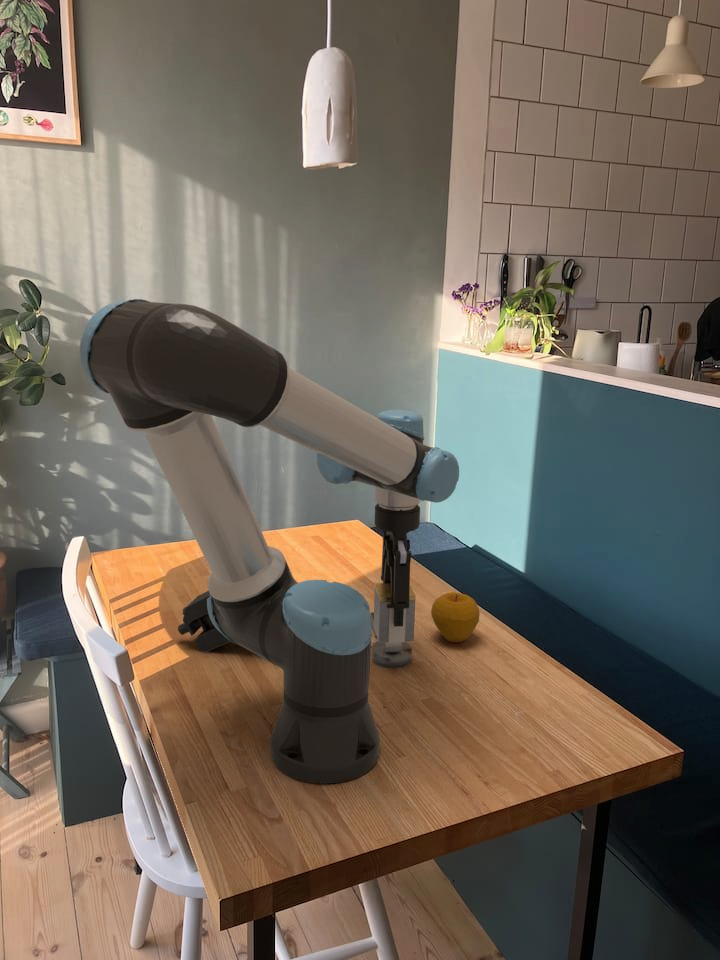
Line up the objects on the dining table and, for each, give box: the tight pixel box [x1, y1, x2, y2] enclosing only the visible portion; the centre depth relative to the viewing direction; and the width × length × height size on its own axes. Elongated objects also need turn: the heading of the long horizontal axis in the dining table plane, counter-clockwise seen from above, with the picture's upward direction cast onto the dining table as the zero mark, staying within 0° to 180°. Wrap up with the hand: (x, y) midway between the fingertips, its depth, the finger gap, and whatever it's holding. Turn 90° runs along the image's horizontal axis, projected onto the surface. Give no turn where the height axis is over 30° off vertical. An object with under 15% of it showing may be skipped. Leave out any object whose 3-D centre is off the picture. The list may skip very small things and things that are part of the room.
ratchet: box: [370, 611, 413, 669], centre depth 145 cm, size 19×7×7 cm, turn 7°
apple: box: [430, 591, 480, 643], centre depth 147 cm, size 9×9×9 cm
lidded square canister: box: [373, 582, 417, 643], centre depth 138 cm, size 6×6×8 cm
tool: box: [177, 590, 232, 653], centre depth 141 cm, size 6×19×15 cm, turn 78°
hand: (393, 632), depth 139 cm, fingers closed on lidded square canister, 6 cm apart
